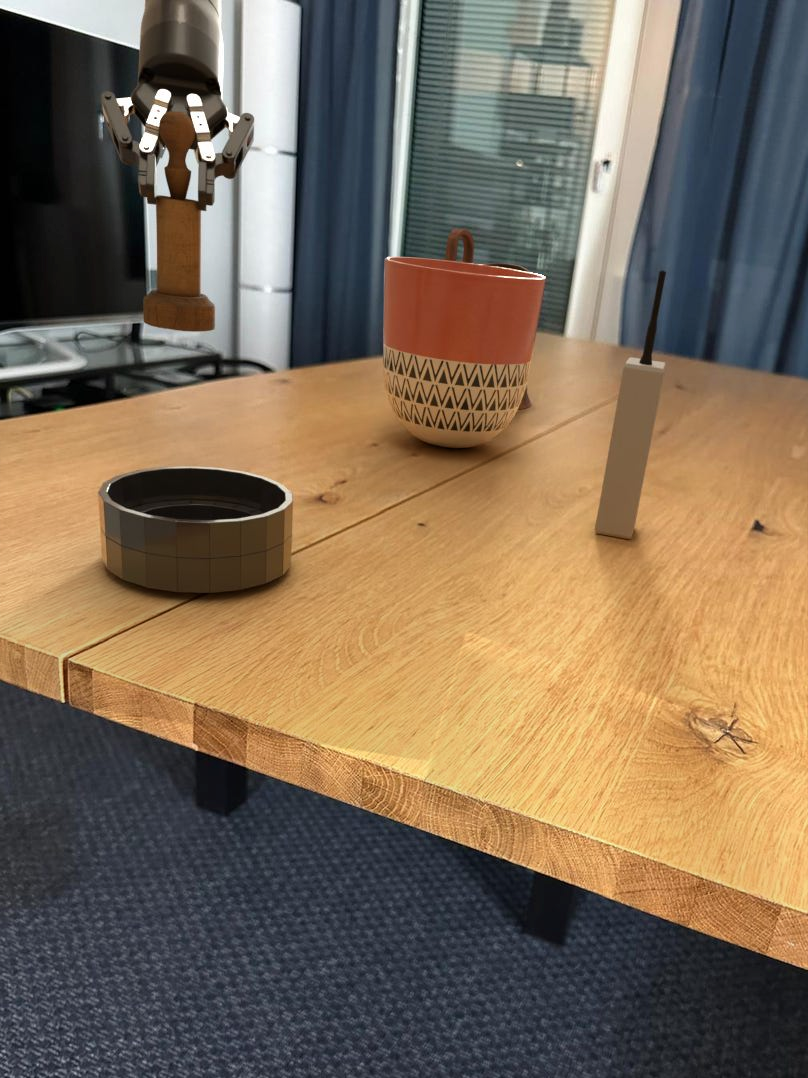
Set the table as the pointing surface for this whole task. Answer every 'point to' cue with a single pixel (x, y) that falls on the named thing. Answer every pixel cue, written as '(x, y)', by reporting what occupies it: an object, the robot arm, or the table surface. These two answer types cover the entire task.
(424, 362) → the planter
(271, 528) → the bowl
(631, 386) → the vintage mobile phone
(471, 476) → the table surface
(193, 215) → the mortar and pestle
